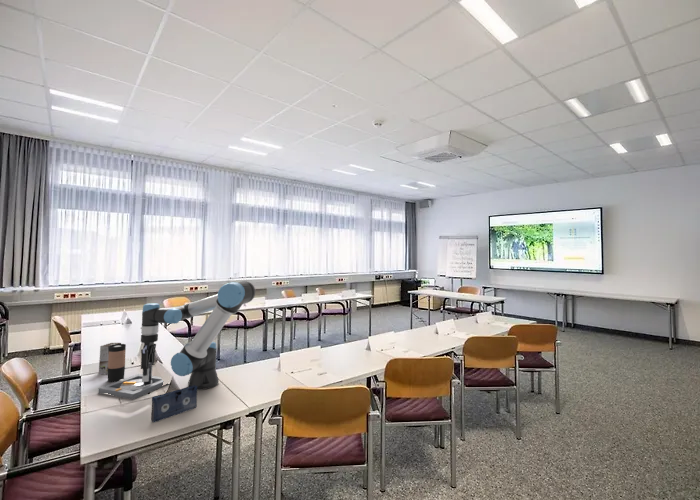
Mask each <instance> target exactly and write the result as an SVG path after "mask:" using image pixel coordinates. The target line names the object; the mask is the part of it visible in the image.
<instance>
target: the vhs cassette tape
mask: <svg viewBox="0 0 700 500" xmlns="http://www.w3.org/2000/svg"><path fill="white" fill-rule="evenodd" d="M197 401H198V390H197V386H196V385H193V386H190V387H188V386H187V387H183V388H180V389H179V388H178V389H176V390H173V391H168V392H165V393H162V394H158V395H154V396H152V397H151V412H150V413H151V416H150V419H151V420H150V421H151V422H152V423H156V422H159V421H162V420H165V419H169V418H171V417H174V416H177V415H180V414H183V413H185V412H189V411H191V410H194V409H196V408H197V407H198V406H197V405H198V404H197V403H198V402H197Z"/></svg>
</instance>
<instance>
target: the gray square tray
mask: <svg viewBox="0 0 700 500" xmlns="http://www.w3.org/2000/svg"><path fill="white" fill-rule="evenodd" d="M142 374H143V373H138V374H137V373H136V374H135V375H132V376H128V377H126V378H124V379H121V380H119V381H117V382H111V383H110V384H107V385H106V384H105V385H103V386H101V387H98V389H97V390H98V391H97V392H98V394H100V393H108V394H111V395H114V396H113V397H116V396H117V398H121V399H123V398H124V399H129V400H136V399H138V398H140V397H143V396H145V395H147V394H149V393H152V392H155V391H157V390H158V389H161V388H163V387H162V385H163V382H164V381H163V380H162V378H161V377H162V376H157V375H152V379H151V380H152V384H151V385H148V386H146V387H143V388H141V389H138V390H136V391H130V390H124V389H122V388H120V385H121V384H122V383H123V382H127V381H131V380H135V379H142ZM111 395H110V396H111Z"/></svg>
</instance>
